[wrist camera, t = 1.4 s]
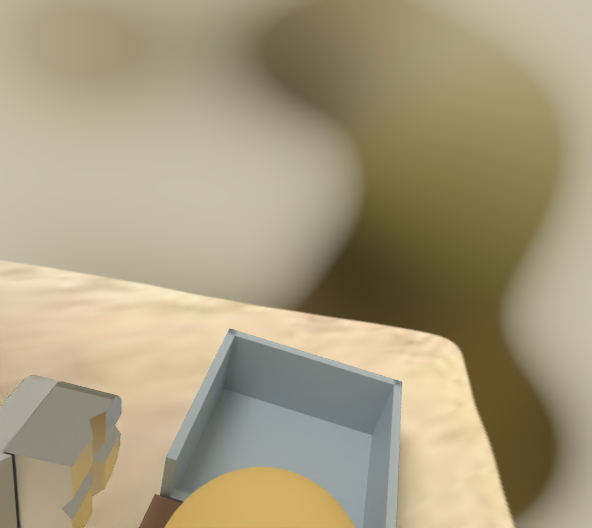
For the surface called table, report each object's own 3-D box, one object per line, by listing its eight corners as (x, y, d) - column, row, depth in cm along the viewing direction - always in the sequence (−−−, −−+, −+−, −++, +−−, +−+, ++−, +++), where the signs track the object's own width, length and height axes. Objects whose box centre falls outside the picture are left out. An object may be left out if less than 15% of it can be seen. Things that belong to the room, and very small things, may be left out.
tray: (156, 519, 36) (166, 457, 32) (217, 384, 46) (229, 328, 43) (365, 587, 35) (395, 530, 32) (378, 435, 46) (402, 381, 43)
